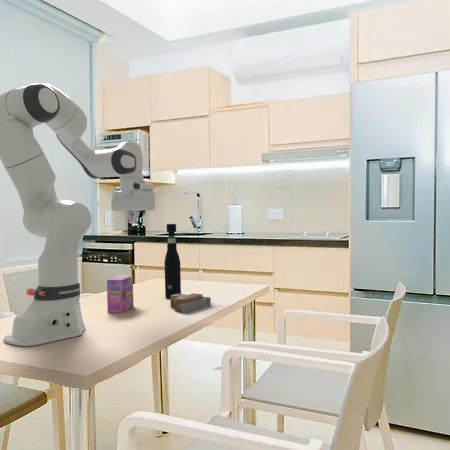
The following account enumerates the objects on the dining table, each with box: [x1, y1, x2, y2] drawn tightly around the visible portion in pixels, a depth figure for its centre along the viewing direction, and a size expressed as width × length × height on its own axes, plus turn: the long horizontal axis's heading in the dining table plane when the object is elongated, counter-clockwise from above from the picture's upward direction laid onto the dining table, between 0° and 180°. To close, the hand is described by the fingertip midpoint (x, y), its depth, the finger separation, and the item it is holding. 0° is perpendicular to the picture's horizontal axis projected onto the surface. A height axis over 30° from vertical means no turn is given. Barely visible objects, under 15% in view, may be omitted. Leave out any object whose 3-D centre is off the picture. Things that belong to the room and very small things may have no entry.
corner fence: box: [180, 296, 212, 314], centre depth 163 cm, size 15×10×3 cm, turn 145°
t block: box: [169, 293, 204, 313], centre depth 163 cm, size 9×11×4 cm
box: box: [106, 274, 135, 314], centre depth 163 cm, size 10×6×12 cm, turn 168°
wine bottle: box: [163, 223, 182, 300], centre depth 183 cm, size 6×6×30 cm
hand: (133, 222), depth 169 cm, fingers closed
